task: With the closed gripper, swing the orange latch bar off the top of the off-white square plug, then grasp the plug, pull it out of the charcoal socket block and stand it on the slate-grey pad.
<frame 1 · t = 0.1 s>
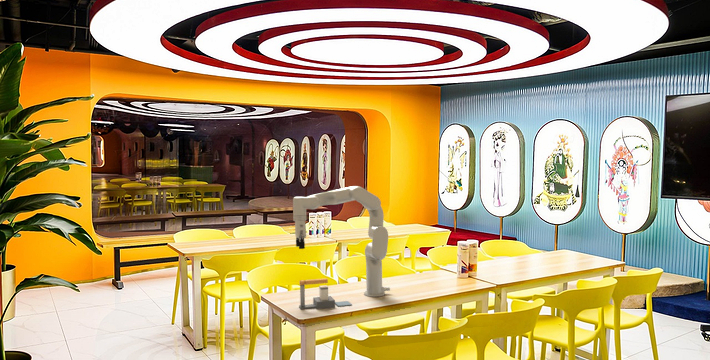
hand: (300, 247, 291), 31 cm above the table, tool pointing down, fingers open, 9 cm apart
plug: (324, 306, 279), resting in socket block
socket block: (324, 306, 279), on the table
pad: (343, 304, 283), on the table
latch bar: (313, 281, 278), point 14 cm above the table, hinge at 0.0°
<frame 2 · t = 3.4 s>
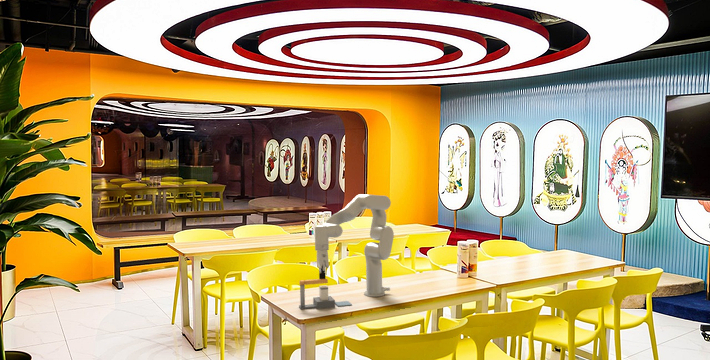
hand: (322, 279, 282), 14 cm above the table, tool pointing down, fingers closed
latch bar: (313, 281, 278), point 14 cm above the table, hinge at 0.0°, touching gripper
everything else where it was.
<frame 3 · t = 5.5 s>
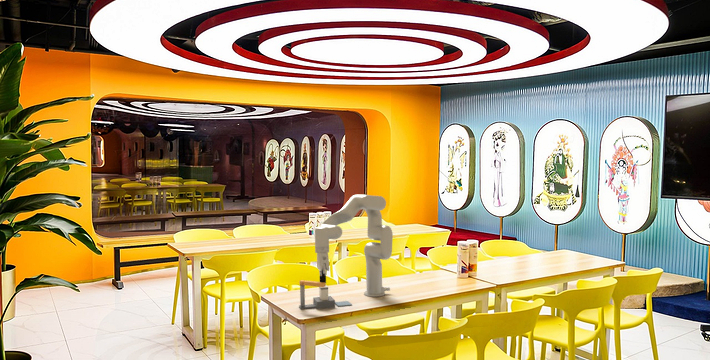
hand: (322, 283, 273), 14 cm above the table, tool pointing down, fingers closed
latch bar: (312, 283, 273), point 14 cm above the table, hinge at -43.2°, touching gripper
everything else where it was.
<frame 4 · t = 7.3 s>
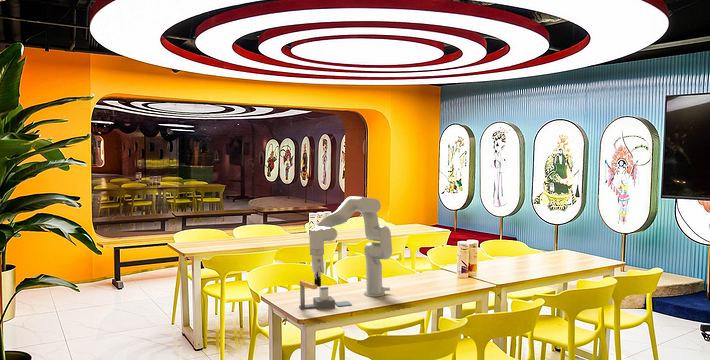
hand: (317, 286, 268), 14 cm above the table, tool pointing down, fingers closed
latch bar: (307, 284, 271), point 14 cm above the table, hinge at -71.5°, touching gripper
everything else where it was.
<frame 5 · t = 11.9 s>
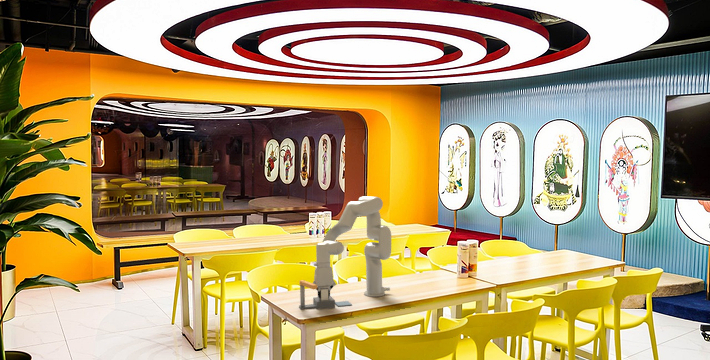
hand: (323, 297, 279), 5 cm above the table, tool pointing down, fingers closed on plug, 4 cm apart
plug: (324, 306, 279), resting in socket block, touching gripper
latch bar: (307, 284, 271), point 14 cm above the table, hinge at -71.5°
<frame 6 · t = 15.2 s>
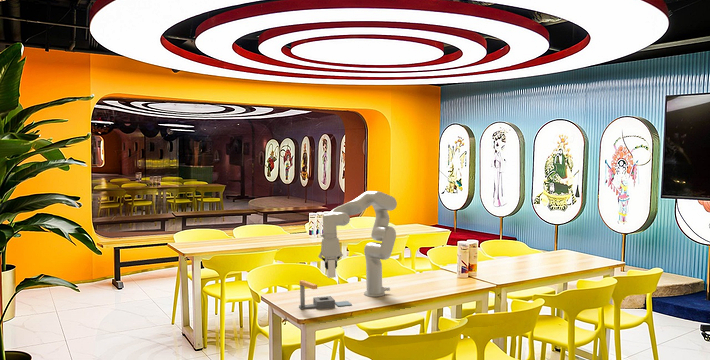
hand: (331, 268, 280), 21 cm above the table, tool pointing down, fingers closed on plug, 4 cm apart
plug: (331, 276, 281), point 16 cm above the table, touching gripper
everything else where it was.
when the fingers open (7 cm above the table, at t = 18.7 s): plug drops 1 cm, resting on pad.
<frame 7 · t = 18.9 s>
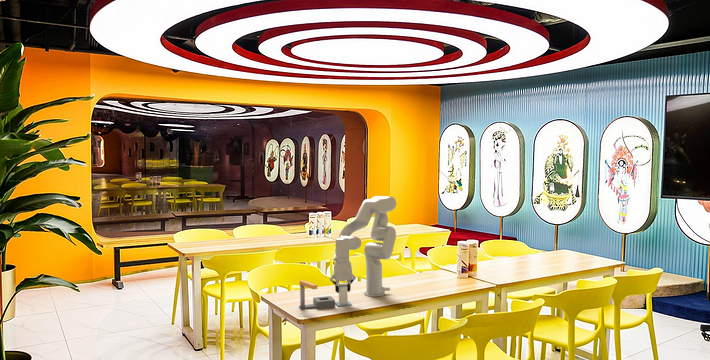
hand: (343, 291, 282), 7 cm above the table, tool pointing down, fingers open, 5 cm apart
plug: (343, 303, 282), point 1 cm above the table, touching pad
everything else where it was.
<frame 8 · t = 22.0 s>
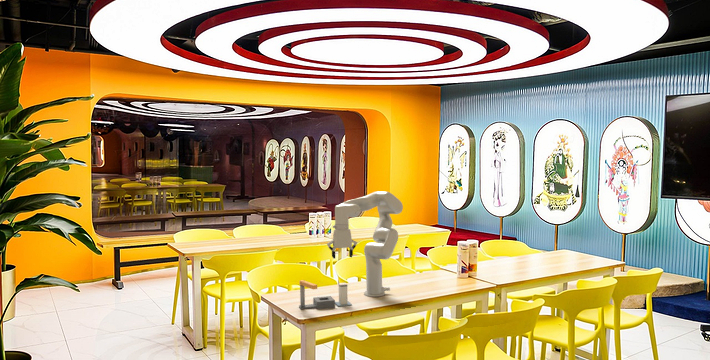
hand: (342, 257, 282), 26 cm above the table, tool pointing down, fingers open, 9 cm apart
nothing on the table moved.
at the end: latch bar at -72° (first picture: +0°); plug 0.0 cm off-centre on the pad, point 0.6 cm above the pad's base; plug tilted 0° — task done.
